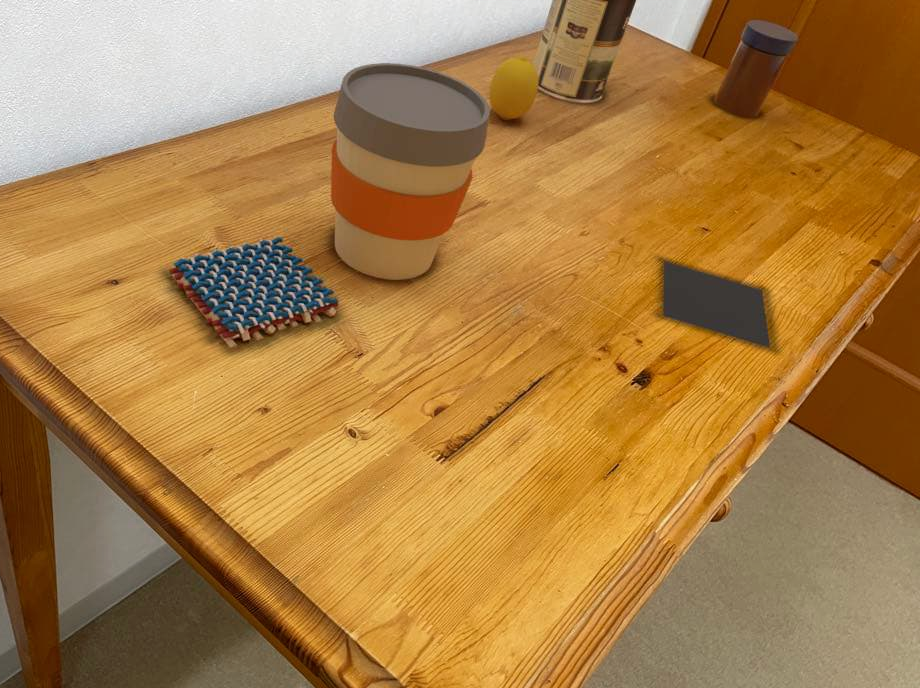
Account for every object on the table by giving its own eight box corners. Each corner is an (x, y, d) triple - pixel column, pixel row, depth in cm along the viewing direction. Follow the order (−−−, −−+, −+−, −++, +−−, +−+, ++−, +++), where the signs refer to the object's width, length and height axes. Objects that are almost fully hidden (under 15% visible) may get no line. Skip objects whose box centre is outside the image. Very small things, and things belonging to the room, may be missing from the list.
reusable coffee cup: (388, 313, 71) (425, 147, 61) (285, 241, 76) (305, 77, 66) (477, 265, 79) (523, 112, 69) (378, 203, 84) (409, 52, 74)
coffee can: (594, 79, 119) (632, -27, 110) (607, 111, 112) (649, -1, 102) (523, 66, 118) (555, -43, 108) (532, 97, 110) (567, -17, 101)
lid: (789, 43, 116) (796, 29, 115) (794, 60, 111) (801, 45, 110) (739, 29, 117) (745, 15, 116) (742, 45, 112) (749, 31, 111)
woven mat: (163, 277, 69) (163, 256, 68) (276, 251, 75) (278, 231, 73) (225, 354, 64) (226, 333, 62) (341, 319, 69) (345, 300, 68)
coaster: (760, 293, 84) (762, 289, 84) (768, 351, 77) (770, 348, 77) (662, 264, 85) (663, 260, 85) (661, 319, 78) (662, 315, 78)
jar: (755, 107, 123) (792, 33, 115) (758, 124, 118) (797, 48, 111) (711, 95, 123) (745, 20, 116) (713, 111, 118) (748, 34, 111)
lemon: (501, 107, 106) (519, 43, 101) (535, 126, 104) (555, 62, 99) (473, 115, 103) (490, 49, 98) (507, 135, 101) (527, 69, 95)
